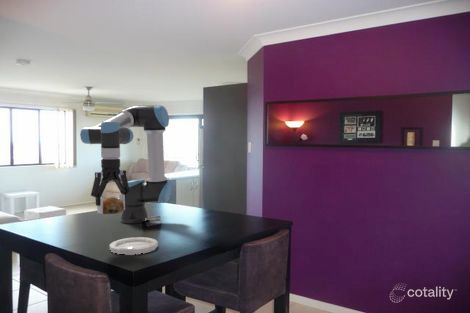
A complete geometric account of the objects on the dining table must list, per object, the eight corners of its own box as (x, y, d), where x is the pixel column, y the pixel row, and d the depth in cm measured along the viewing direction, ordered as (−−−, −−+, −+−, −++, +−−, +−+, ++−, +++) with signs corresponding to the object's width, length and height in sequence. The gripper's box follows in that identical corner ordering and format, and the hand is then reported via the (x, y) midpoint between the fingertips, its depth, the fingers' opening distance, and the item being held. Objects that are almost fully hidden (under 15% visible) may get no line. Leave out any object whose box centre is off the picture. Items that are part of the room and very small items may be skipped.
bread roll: (125, 218, 157) (127, 200, 160) (118, 212, 148) (121, 193, 151) (102, 218, 157) (105, 200, 160) (94, 212, 147) (97, 193, 151)
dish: (136, 239, 168) (136, 235, 168) (166, 246, 157) (166, 241, 157) (100, 249, 152) (100, 245, 152) (131, 257, 141) (131, 252, 141)
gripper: (127, 157, 164) (127, 206, 165) (80, 159, 146) (81, 214, 147) (138, 157, 160) (138, 208, 161) (91, 159, 141) (92, 216, 142)
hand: (111, 211), depth 154 cm, fingers closed on bread roll, 10 cm apart
